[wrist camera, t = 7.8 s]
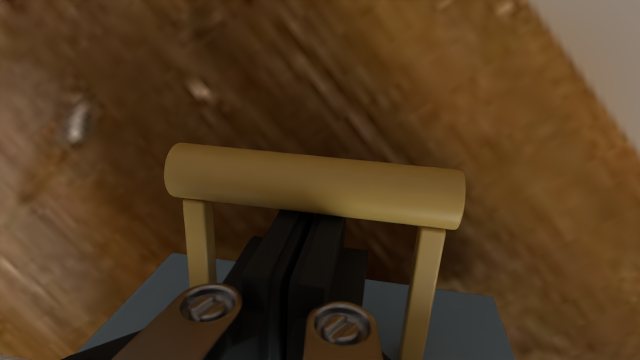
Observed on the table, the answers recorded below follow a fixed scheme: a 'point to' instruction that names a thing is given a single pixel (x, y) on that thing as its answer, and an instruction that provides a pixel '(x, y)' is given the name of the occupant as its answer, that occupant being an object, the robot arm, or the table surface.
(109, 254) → the table surface
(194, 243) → the drawer
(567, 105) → the table surface
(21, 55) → the table surface
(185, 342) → the robot arm
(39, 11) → the table surface
